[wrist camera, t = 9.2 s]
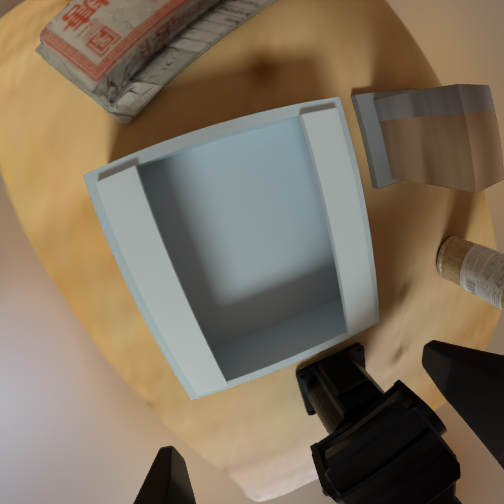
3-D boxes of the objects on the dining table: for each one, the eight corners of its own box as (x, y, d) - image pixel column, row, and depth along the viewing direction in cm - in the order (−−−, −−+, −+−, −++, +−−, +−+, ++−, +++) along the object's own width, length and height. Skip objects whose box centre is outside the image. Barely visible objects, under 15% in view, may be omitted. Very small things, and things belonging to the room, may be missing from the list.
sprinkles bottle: (462, 262, 25) (560, 311, 13) (437, 286, 25) (539, 347, 12) (458, 225, 24) (569, 267, 11) (431, 248, 23) (550, 305, 11)
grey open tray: (347, 295, 22) (383, 325, 18) (187, 357, 21) (192, 404, 16) (305, 109, 17) (343, 95, 13) (106, 172, 16) (80, 175, 11)
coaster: (432, 169, 21) (436, 169, 21) (373, 187, 20) (378, 188, 20) (415, 90, 19) (419, 89, 18) (350, 96, 18) (355, 94, 17)
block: (409, 96, 18) (488, 85, 11) (425, 167, 20) (504, 178, 13) (373, 100, 18) (456, 84, 10) (391, 178, 20) (476, 193, 12)
